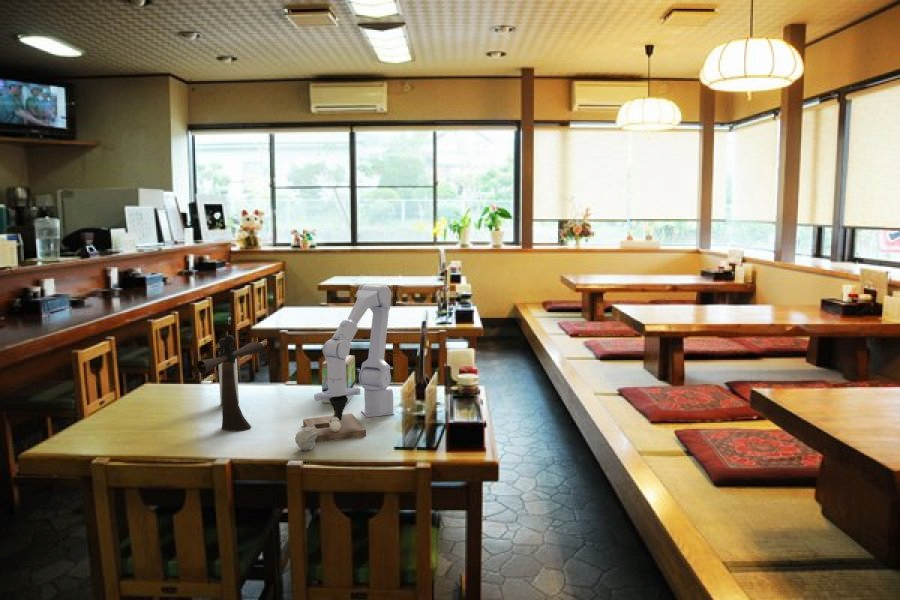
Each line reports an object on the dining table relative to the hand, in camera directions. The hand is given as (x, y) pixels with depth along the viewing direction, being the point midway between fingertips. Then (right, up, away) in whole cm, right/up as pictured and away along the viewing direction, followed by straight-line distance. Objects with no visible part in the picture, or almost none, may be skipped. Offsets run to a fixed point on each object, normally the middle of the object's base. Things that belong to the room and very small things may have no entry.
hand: (338, 419), depth 208 cm
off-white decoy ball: (0, -1, -7) cm, 7 cm away
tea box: (-6, +1, +37) cm, 37 cm away
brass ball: (-1, +1, +7) cm, 7 cm away
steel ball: (-1, 0, -1) cm, 1 cm away
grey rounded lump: (-6, -6, -17) cm, 19 cm away
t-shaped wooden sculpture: (-33, -3, +3) cm, 33 cm away
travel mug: (-44, 0, +29) cm, 52 cm away
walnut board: (-1, -3, 0) cm, 4 cm away
